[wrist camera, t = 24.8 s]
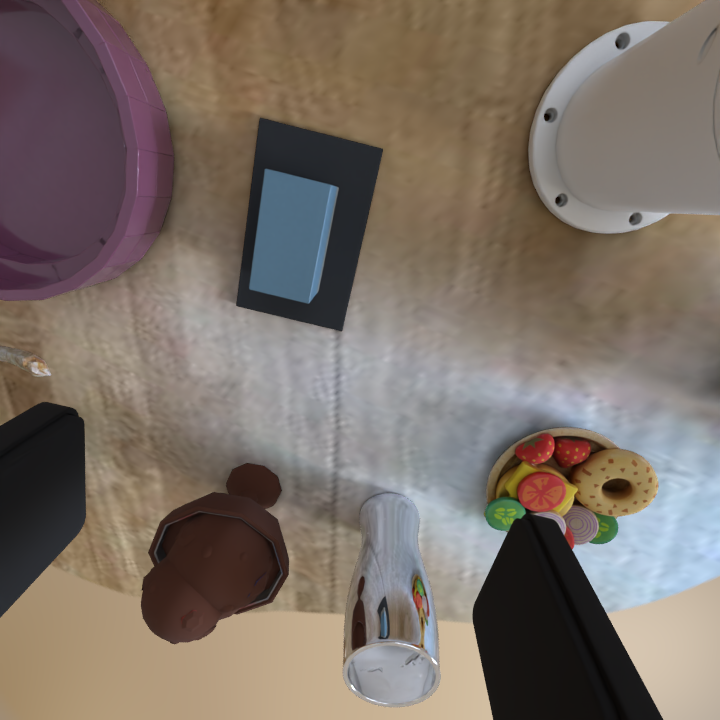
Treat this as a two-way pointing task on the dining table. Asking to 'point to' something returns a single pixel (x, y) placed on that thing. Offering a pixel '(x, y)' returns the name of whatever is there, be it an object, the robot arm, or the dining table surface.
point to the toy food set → (569, 484)
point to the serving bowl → (76, 149)
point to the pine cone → (24, 361)
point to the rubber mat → (356, 186)
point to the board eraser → (292, 236)
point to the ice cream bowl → (216, 558)
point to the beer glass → (390, 610)
